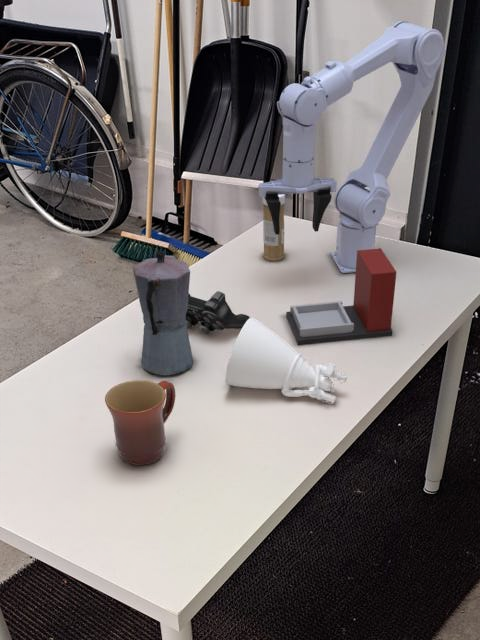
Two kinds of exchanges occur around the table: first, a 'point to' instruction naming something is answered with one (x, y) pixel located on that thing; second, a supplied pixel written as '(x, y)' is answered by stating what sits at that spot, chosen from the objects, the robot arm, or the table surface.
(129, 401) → the mug
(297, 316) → the coffee maker
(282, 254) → the sprinkles bottle
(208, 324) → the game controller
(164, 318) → the moka pot
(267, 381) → the rocket engine
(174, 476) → the table surface
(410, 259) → the table surface
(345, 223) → the robot arm
